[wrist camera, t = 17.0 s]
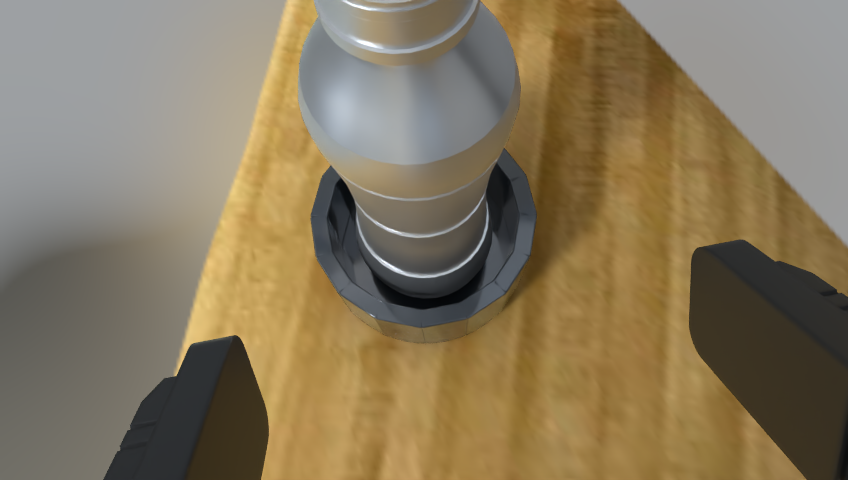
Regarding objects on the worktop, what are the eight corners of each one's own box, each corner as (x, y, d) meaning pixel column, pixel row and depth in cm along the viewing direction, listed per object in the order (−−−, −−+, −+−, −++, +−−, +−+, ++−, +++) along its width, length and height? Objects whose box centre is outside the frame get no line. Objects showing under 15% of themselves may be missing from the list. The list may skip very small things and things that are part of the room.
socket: (498, 144, 33) (505, 100, 29) (545, 321, 30) (561, 300, 26) (318, 178, 33) (299, 139, 29) (345, 361, 30) (327, 346, 25)
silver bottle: (443, 166, 32) (434, -226, 14) (514, 267, 30) (619, -31, 12) (340, 226, 32) (177, -106, 13) (406, 334, 30) (328, 129, 11)
